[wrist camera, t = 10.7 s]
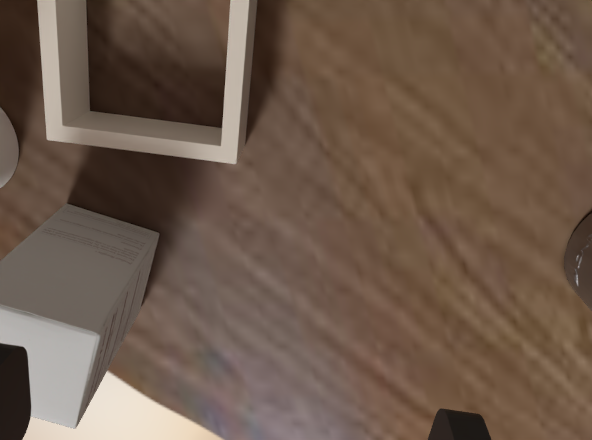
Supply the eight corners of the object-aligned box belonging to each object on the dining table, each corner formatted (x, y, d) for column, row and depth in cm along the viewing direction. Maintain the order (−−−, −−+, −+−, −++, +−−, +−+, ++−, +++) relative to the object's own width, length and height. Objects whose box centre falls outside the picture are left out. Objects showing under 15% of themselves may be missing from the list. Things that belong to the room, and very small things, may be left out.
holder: (261, -43, 32) (252, -47, 28) (245, 145, 36) (236, 164, 33) (66, -69, 32) (31, -76, 28) (75, 123, 36) (46, 139, 32)
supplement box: (50, 282, 42) (-54, 397, 30) (66, 199, 39) (-43, 290, 27) (142, 311, 42) (75, 434, 31) (164, 232, 39) (100, 334, 28)
